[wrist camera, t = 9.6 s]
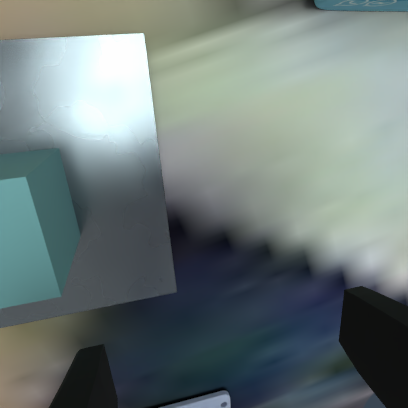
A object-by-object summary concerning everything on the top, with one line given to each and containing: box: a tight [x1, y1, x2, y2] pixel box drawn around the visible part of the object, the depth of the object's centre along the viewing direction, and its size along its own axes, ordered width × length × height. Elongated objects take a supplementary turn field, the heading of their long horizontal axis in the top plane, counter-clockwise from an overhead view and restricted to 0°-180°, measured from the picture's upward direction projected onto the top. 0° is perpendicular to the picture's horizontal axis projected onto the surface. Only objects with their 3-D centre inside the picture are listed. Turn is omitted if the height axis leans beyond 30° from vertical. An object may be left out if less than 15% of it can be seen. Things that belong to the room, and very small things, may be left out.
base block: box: [0, 33, 177, 328], centre depth 14 cm, size 12×12×2 cm
